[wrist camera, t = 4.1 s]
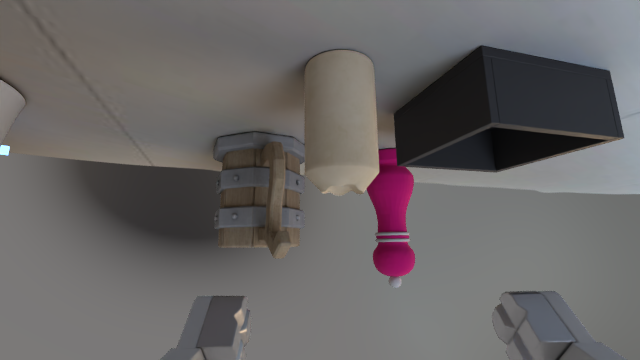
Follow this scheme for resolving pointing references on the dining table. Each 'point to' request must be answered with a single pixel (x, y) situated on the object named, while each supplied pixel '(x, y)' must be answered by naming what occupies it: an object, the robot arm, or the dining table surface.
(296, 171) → the tankard
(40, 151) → the dining table surface
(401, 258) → the pepper mill
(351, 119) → the candle
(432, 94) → the box
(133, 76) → the dining table surface
